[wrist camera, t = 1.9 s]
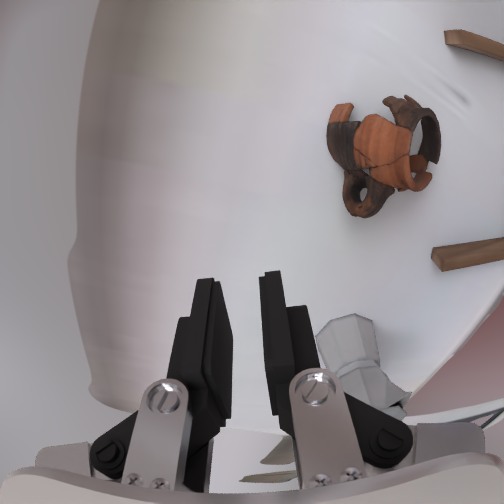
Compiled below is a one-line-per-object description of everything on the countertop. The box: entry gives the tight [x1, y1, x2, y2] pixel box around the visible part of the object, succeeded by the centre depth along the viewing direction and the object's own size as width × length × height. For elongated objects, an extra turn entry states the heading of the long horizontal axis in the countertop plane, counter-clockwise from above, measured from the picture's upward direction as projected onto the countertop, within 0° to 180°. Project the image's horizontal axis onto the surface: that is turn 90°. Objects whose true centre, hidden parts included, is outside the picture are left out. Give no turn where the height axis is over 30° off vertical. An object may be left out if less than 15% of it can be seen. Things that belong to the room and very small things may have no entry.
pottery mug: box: [327, 95, 441, 218], centre depth 24 cm, size 12×10×8 cm
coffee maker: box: [316, 314, 412, 421], centre depth 33 cm, size 15×9×18 cm, turn 152°
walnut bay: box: [431, 30, 504, 272], centre depth 24 cm, size 27×16×3 cm, turn 7°
